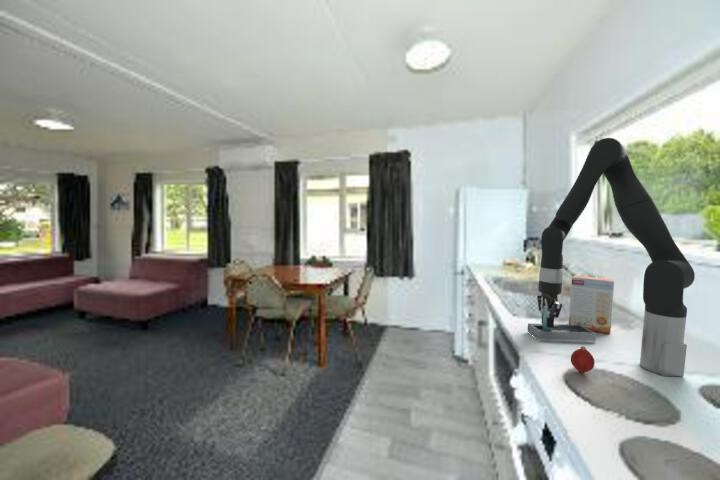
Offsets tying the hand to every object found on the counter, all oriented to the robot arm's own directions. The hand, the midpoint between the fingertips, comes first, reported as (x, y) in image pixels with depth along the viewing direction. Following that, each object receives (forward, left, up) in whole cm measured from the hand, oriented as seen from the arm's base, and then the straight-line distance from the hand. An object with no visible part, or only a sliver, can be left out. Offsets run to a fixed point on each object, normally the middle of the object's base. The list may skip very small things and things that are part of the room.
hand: (547, 325), depth 127 cm
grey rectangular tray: (0, -5, -4) cm, 7 cm away
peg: (0, 0, -3) cm, 3 cm away
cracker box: (+11, -23, -5) cm, 26 cm away
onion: (-29, +5, -5) cm, 30 cm away
